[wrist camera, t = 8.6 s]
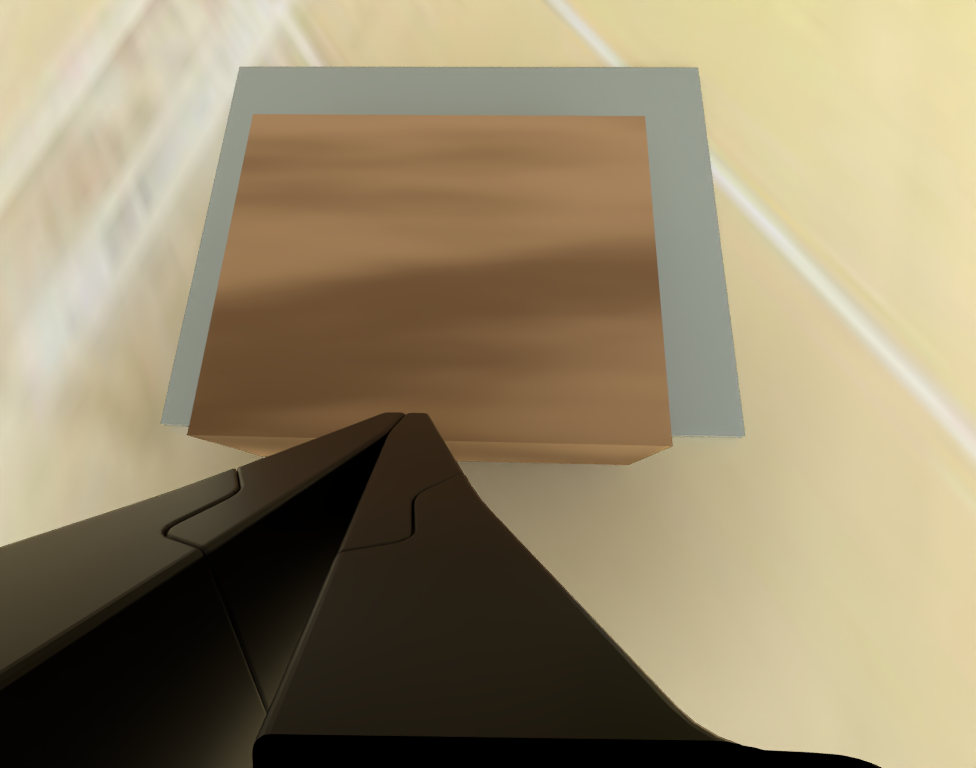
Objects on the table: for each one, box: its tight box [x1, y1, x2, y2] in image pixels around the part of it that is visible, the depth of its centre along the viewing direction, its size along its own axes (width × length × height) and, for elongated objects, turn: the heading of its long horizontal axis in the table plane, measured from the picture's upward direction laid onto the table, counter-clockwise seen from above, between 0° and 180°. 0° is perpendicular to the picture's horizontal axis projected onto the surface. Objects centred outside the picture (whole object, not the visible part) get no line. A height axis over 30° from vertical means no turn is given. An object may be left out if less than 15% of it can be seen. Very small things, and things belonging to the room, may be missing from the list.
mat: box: [161, 67, 745, 438], centre depth 18 cm, size 16×20×1 cm
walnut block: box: [187, 114, 673, 465], centre depth 15 cm, size 4×12×10 cm
